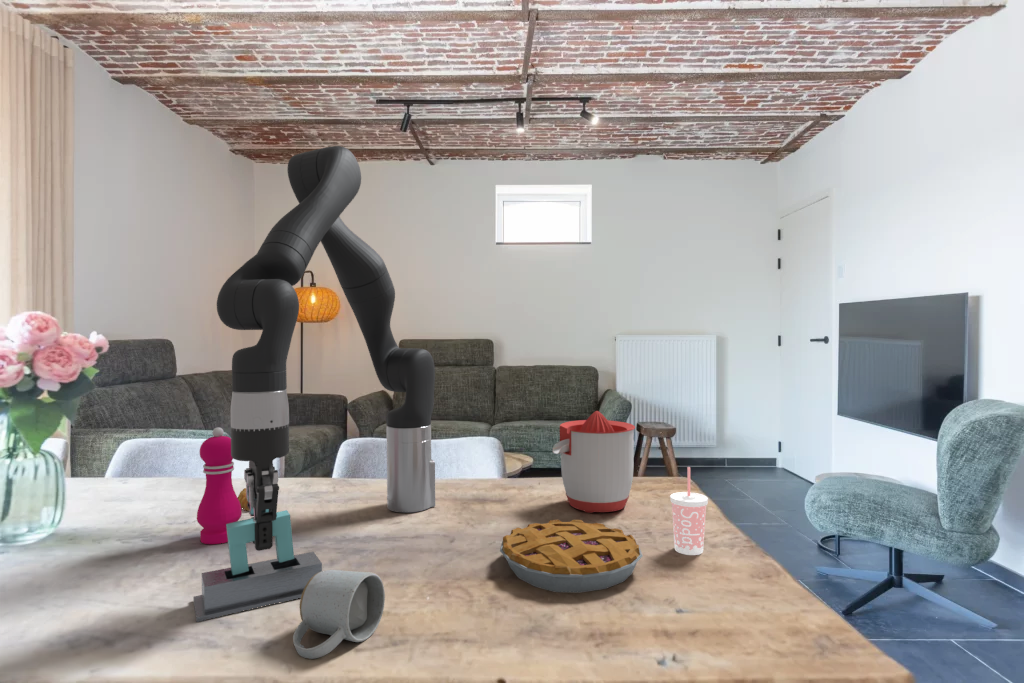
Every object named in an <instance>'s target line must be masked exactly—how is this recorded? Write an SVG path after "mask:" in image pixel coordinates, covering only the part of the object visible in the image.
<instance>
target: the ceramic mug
mask: <svg viewBox="0 0 1024 683" xmlns="http://www.w3.org/2000/svg"><path fill="white" fill-rule="evenodd" d="M385 593H386V591H385V586H384V583H383V581H382V578H381V577H380V576H379V575H378V574H377V573H375V572H371V571H370V572H368V571H367V572H366V571H355V570H354V571H353V570H352V571H351V570H342V569H341V570H340V569H327V570H322V571H321V572H319V573H317V574H315V575H314V576H313V577H312V578H311V579H310V580H309V581H308V583H307V584H306V586H305V588H304V590H303V593H302V596H301V599H299V615H300V618H301V621H300V623H299V624H298V625H297V627H296V629H295V630H294V633H293V635H292V641H293V642H292V644H293V645H294V648H295V650H296V652H297V655H299V656H300V657H301V658H305V659H307V658H309V659H308V660H315V659H319V658H321V657H324V656H326V655H328V654H329V653H330V652H333V651H334V649H336V647H338V646H339V645H340V644H341V643H342V641H343V640H346V641H350V642H353V643H354V642H355V643H362V642H364V641H366V640H369V638H370V637H372V635H374V633H375V632H376V630H377V629H378V627H379V624H380V622H381V619H382V617H383V614H384V608H385V604H386V603H385V602H386V601H385V600H386V599H385V598H386V594H385ZM309 629H310V630H312V631H313V632H316V633H319V634H324V635H329V636H330V637H329V638H327V639H326V640H325V641H323V642H321V643H320V644H318V645H315V646H313V647H309V648H305V645H303V644H301V643H302V642H301V641H302V639H303V637H304V636H305V634H306V633H307V631H308V630H309Z"/></svg>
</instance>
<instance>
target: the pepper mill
mask: <svg viewBox="0 0 1024 683" xmlns="http://www.w3.org/2000/svg"><path fill="white" fill-rule="evenodd" d="M224 433H225V432H224V429H223V428H222V427H220V426H219V427H214V429H213V430H212V435H213V436H210V437H209V438H207V439H205V440H204V441H203V442H201V443H202V444H201V445H200V447H199V457H200V459H201V460H202V461H203V462H204V464H203V465H202V468H203V470H202V473H203V474H205V487H204V488H205V489H204V493H203V495H202V498H201V500H200V503H199V505H198V509H197V511H196V521H197V524H199V525H200V526H201V527H202V529H201V530H200V532H199V534H200V535H199V536H200V537H199V538H200V542H201V543H202V544H205V545H220V544H221V543H222V544H225V543H228V537H227V527H226V524H229V523H233V522H237V521H240V519H241V517H242V513H243V512H242V508H241V505H240V502H239V500H238V495H237V494H236V491H235V489H234V486H233V480H232V473H233V471H234V470H235V467H234V465H235V462H234V461H233V460H234V459H233V458H232V456H231V437H229V436H226V435H224Z"/></svg>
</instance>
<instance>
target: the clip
mask: <svg viewBox="0 0 1024 683" xmlns="http://www.w3.org/2000/svg"><path fill="white" fill-rule="evenodd" d="M276 514H277V517H276V520H274V521H272V537H274V541H275V543H274V544H275V552H276V559H278V561H279V563H280V562H284V561H288V560H291V559H294V555H295V553H294V545H293V542H294V541H293V533H292V522H291V514H290V513H289V511H288V510H287V509H285V510H281V511H278V512H277V513H276ZM226 527H227V537H228V542H227V544H228V545H227V546H228V552H229V553H228V554H229V561H230V562H229V563H230V568H231V571H232V574H233V575H236V574H240V573H243V572H247V571H249V568H248V564H249V560H248V559H249V558H248V551H247V544H248V543H253V542H252V541H255V524H254V522H253V518H247V519H243V520H242V519H241V520H238V521H237V522H233V523H229V524H226Z"/></svg>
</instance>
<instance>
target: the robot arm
mask: <svg viewBox="0 0 1024 683" xmlns="http://www.w3.org/2000/svg"><path fill="white" fill-rule="evenodd" d="M287 176H288V181H289V184H290V187H291V189H292V192H293V194H294V196H295V198H296V200H297V201H298V204H297V205H296V206H294V207H293V208H292V209H291V210H290V211H288V212H287V213H286V214H284V216H282V217H281V218H280V219H279V220H278V221H277V222H276V223H275V224H274V225H273V226H272V228H270V231H269V232H268V233H267V235H266V237H265V238H264V240H263V242H262V244H261V245H260V247H259V249H258V251H257V253H256V254H255V255H254V256H252V257H251V258H249V260H247V261H246V262H245V263H243V264H242V265H241V266H240V267H239V268H238V269H236V270H235V272H233V273H232V274H231V275H230V276H229V277H228V278H227V280H226V281H225V282H224V283H223V285H222V286H221V288H220V289H219V292H218V295H217V298H216V311H217V315H218V318H219V319H220V321H221V322H222V324H224V325H225V327H228V328H230V329H232V330H237V331H262V332H261V334H260V337H259V340H258V341H257V343H256V344H255V345H252V346H247V347H243V348H240V349H238V350H236V351H235V352H234V353H233V355H232V358H231V359H232V360H231V385H232V386H231V389H232V394H231V402H230V438H231V456H232V458H233V459H232V460H236V461H241V462H248V467H247V468H245V469H244V470H243V471H244V472H243V477H244V481H245V488H246V498H247V500H248V503H247V506H248V508H249V509H250V511H248V514H249V515H250V517H251V518H253V522H254V524H255V541H252V542H251V543H252V544H254V548H255V550H256V551H258V552H260V551H265V550H270V549H272V548H273V541H274V540H273V537H274V536H273V537H272V521H274V520H276V517H277V514H276V513H277V510H278V500H279V499H278V498H279V491H280V486H279V484H278V483H279V471H278V469H276V468H275V466H274V462H273V461H274V460H275V459H280V458H283V457H285V456H287V455H288V454H289V452H290V407H289V406H290V405H289V398H288V392H287V391H288V389H287V388H288V386H287V360H288V356H289V351H290V347H291V343H292V338H293V334H294V331H295V328H296V324H297V321H298V316H299V311H300V302H299V301H300V300H299V296H298V293H297V291H296V290H295V287H293V286H296V285H297V284H298V283H299V282H300V281H301V280H302V278H303V276H304V274H305V272H306V270H307V268H308V266H309V264H310V262H311V260H312V258H313V255H314V253H315V251H316V249H318V246H319V245H320V243H321V245H322V247H323V249H324V251H325V252H326V256H327V257H328V259H329V261H330V264H331V265H332V268H333V271H334V272H335V275H336V277H337V279H338V280H337V281H338V282H339V285H340V287H341V289H342V291H343V293H344V296H345V299H346V300H347V302H348V304H349V306H350V308H351V310H352V312H353V314H354V317H355V318H356V321H357V323H358V327H359V328H360V329H359V330H360V331H361V333H362V336H363V338H364V342H365V344H366V346H367V350H368V353H369V356H370V359H371V361H372V366H373V368H374V371H375V375H376V377H377V378H378V381H379V383H380V384H381V386H382V387H383V388H384V390H385V389H386V390H387V391H389V392H393V393H396V392H397V393H405V399H404V402H403V404H402V405H401V406H399V407H397V408H394V409H391V410H389V411H388V412H387V414H386V430H385V431H386V486H387V487H386V492H387V493H386V494H387V496H386V502H387V505H386V506H387V509H388V510H389V511H392V512H396V513H416V512H422V511H425V510H428V509H429V508H433V507H436V462H435V460H434V459H432V416H433V415H432V414H433V411H434V405H435V383H436V382H435V381H436V368H435V362H434V361H435V360H434V358H433V356H432V354H431V353H430V352H429V350H427V349H424V348H414V347H413V348H411V347H409V348H407V347H406V348H403V347H402V348H401V347H399V345H398V344H397V342H396V339H395V338H394V334H393V332H392V328H391V320H392V313H393V311H394V306H395V301H396V299H395V298H396V289H395V286H394V283H393V281H392V278H391V275H390V272H389V271H388V268H387V265H386V264H385V263H386V262H385V261H384V260H383V258H382V256H381V255H380V254H379V253H377V251H376V250H375V249H374V248H372V246H370V245H369V244H368V243H366V241H364V240H363V239H362V238H361V237H359V236H358V235H357V234H355V232H354V231H352V230H351V229H350V228H349V227H348V226H347V225H346V224H345V222H344V221H343V220H342V218H341V215H342V213H343V212H344V211H345V210H346V209H347V207H348V206H349V205H350V204H351V203H352V201H353V200H354V199H355V197H356V196H357V195H358V193H359V191H360V188H361V184H362V173H361V168H360V165H359V162H358V159H357V158H356V157H355V155H354V154H353V152H352V151H351V150H350V149H349V148H346V147H344V146H340V145H333V146H326V147H322V148H321V147H320V148H318V149H313V150H310V151H305V152H300V153H297V154H295V155H293V156H292V157H290V158H289V160H288V163H287Z"/></svg>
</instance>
